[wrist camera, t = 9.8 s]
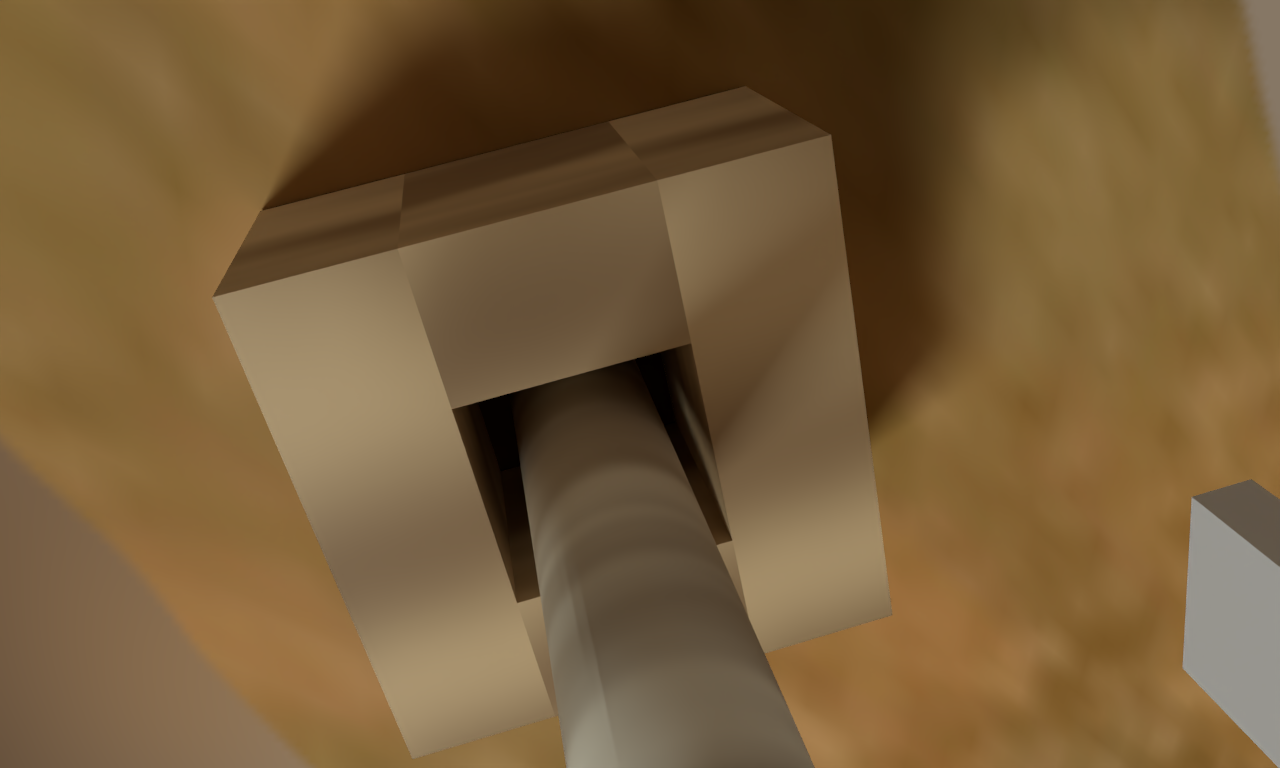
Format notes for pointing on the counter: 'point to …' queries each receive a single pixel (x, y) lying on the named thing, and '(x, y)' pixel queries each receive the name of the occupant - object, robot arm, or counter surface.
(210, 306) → the counter surface
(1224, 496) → the robot arm
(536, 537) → the brown-tipped rod
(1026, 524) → the counter surface
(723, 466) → the bead block
